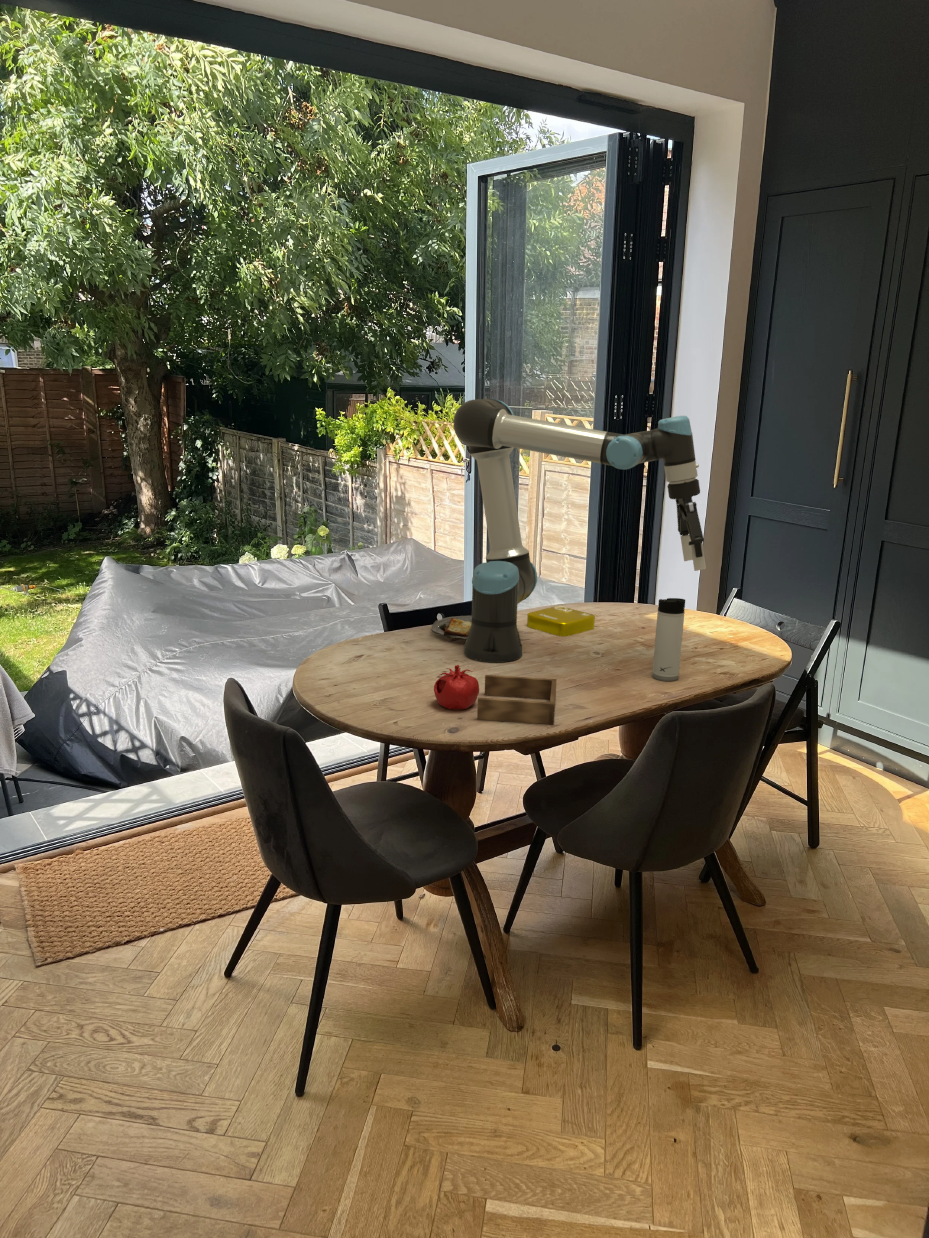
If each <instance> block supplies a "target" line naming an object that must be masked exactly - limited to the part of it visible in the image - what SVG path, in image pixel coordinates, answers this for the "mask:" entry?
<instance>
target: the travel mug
mask: <svg viewBox="0 0 929 1238" xmlns="http://www.w3.org/2000/svg"><path fill="white" fill-rule="evenodd" d="M685 608H686V599H684V598H679V597H668V598H665V599H663V598H660V599H658V608H657V614H656V615H657V616H656V626H655V627H656V628H655V639H654V649H653V650H654V651H653V662H652V663H653V664H652V673H651V675H652V677H653V678H654V679H655V680H658V681H662V682H675V681H678V679H679V678H680V677H679V675H680V664H681V656H682V645H683V644H682V643H683V633H684V624H685Z"/></svg>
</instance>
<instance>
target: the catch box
mask: <svg viewBox="0 0 929 1238" xmlns="http://www.w3.org/2000/svg"><path fill="white" fill-rule="evenodd" d="M484 696H495V697H509V698H511V697H512V698H523V699H539V700H549V701H537V700H536V701H535V700H522V699H507V698H493V697H492V698H490V697H477V711H476V712H477V714H476V715H477V717H476V718H477V719H476V720H481V721H496V722H512V723H513V722H514V723H523V724H524V723H526V724H540V725H541V724H542V725H554V724H555V713H556V712H555V711H556V701H557V700H556V698H557V679H556V678H546V677H545V678H544V677H543V678H541V677H527V676H526V677H525V676H513V675H512V676H511V675H510V676H509V675H494V674H485V675H484Z"/></svg>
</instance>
